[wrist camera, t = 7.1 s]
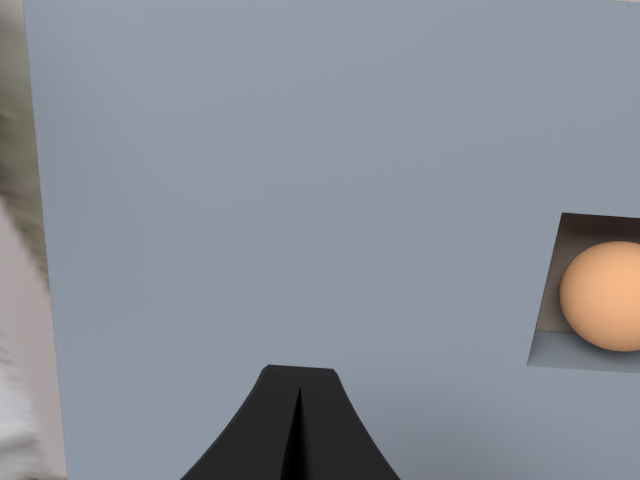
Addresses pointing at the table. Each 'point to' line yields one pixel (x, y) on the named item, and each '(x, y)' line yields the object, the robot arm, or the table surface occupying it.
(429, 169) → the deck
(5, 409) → the table surface
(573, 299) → the ball
